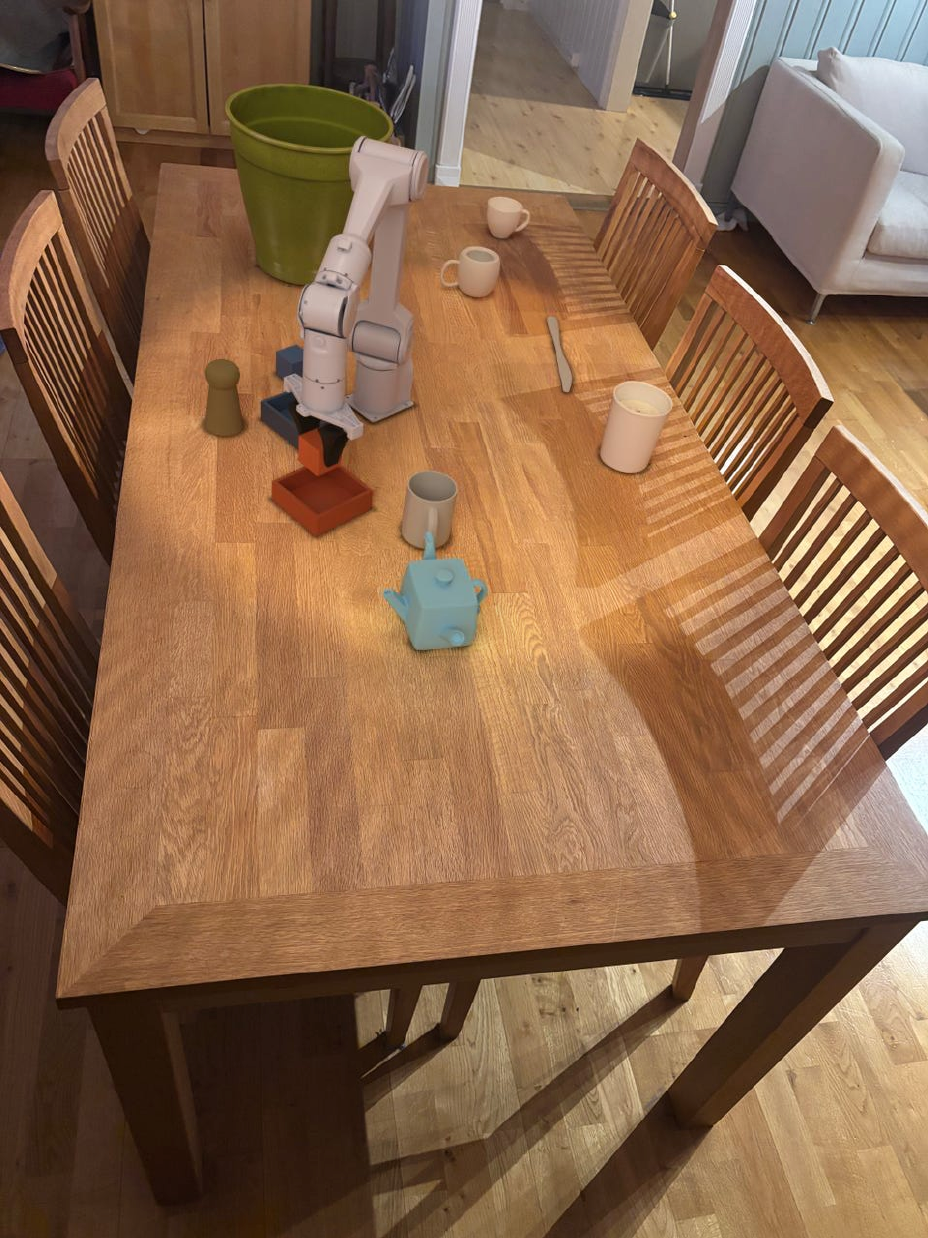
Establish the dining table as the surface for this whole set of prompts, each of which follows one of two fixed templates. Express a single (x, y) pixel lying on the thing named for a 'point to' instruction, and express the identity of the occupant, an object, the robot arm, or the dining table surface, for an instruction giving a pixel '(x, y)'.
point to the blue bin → (282, 416)
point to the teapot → (438, 601)
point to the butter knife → (560, 355)
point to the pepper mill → (223, 398)
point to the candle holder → (634, 425)
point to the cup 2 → (505, 216)
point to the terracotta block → (313, 453)
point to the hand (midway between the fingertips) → (320, 455)
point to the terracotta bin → (321, 497)
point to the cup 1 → (428, 507)
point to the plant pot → (298, 169)
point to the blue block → (289, 362)
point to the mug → (475, 271)
